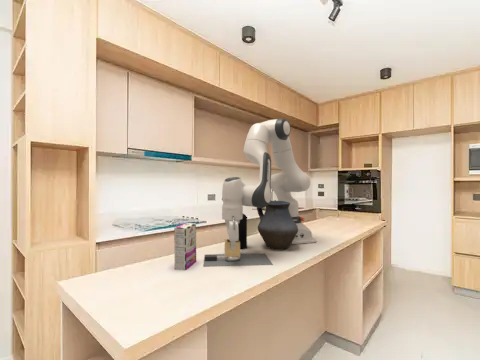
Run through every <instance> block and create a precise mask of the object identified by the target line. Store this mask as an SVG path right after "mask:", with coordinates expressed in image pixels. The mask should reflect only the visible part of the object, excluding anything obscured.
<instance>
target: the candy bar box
mask: <svg viewBox="0 0 480 360" xmlns="http://www.w3.org/2000/svg"><path fill="white" fill-rule="evenodd" d="M173 235H174V241H173V243H174V270H178V271H187V270H188V269H189V268H191V267H192V266H193V265H195V264H196V262H197V222H195V223H193V222H185V223H183V224H181V225H179V226H175V227H174V234H173Z"/></svg>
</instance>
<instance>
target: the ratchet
mask: <svg viewBox="0 0 480 360" xmlns="http://www.w3.org/2000/svg"><path fill="white" fill-rule="evenodd" d="M223 254H224V255H223V256H217V255H208V254H204V256H205V261H227V262H237V261H240V257H225V253H223Z"/></svg>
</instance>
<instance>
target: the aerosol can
mask: <svg viewBox="0 0 480 360" xmlns="http://www.w3.org/2000/svg"><path fill="white" fill-rule="evenodd" d="M238 229H239V241H240V251H241V250H246V249H248V247H247V246H248V243H247V242H248V216H247V215H246V214H245V213H243V219H241V220H240V223H238Z"/></svg>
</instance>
